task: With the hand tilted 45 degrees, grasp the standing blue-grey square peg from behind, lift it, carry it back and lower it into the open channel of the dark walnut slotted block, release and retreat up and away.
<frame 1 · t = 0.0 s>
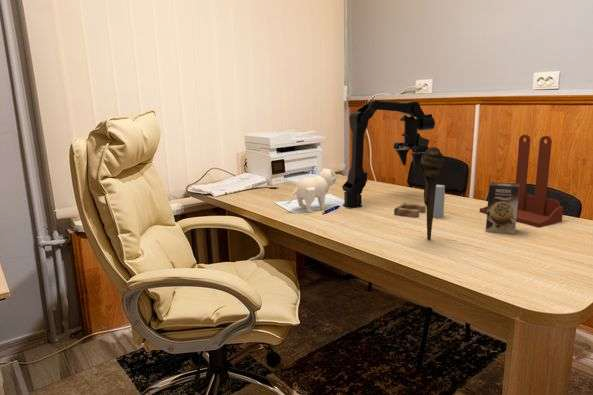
hand: (410, 166, 188), 15 cm above the table, tool pointing down, fingers open, 9 cm apart
slot block: (410, 213, 169), on the table
cat figurine: (313, 209, 180), on the table
hanging shelf: (518, 217, 159), on the table
coffee box: (500, 231, 144), on the table
peg: (436, 216, 163), on the table
decorative torch: (429, 240, 137), on the table
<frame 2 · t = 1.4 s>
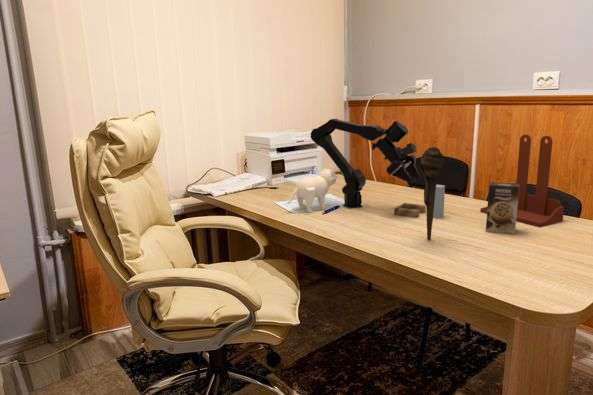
hand: (416, 180, 165), 13 cm above the table, tool tilted 45°, fingers open, 9 cm apart
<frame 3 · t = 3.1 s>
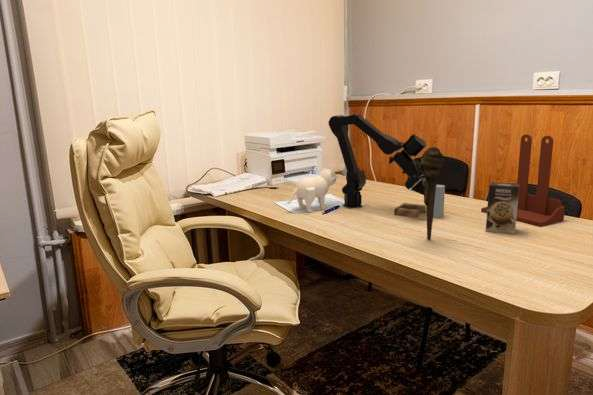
hand: (435, 194, 161), 9 cm above the table, tool tilted 45°, fingers open, 9 cm apart
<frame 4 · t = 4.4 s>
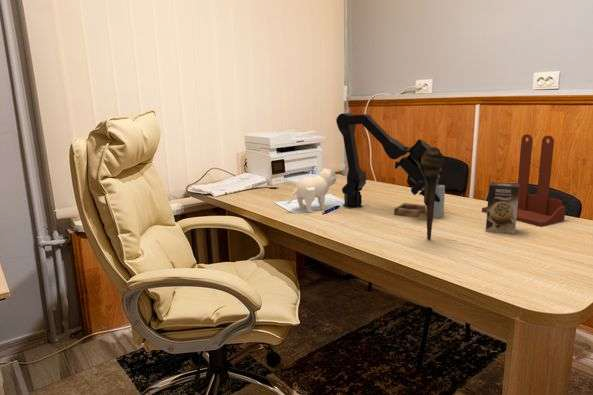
hand: (441, 200, 160), 7 cm above the table, tool tilted 45°, fingers closed on peg, 4 cm apart
peg: (436, 216, 163), on the table, touching gripper
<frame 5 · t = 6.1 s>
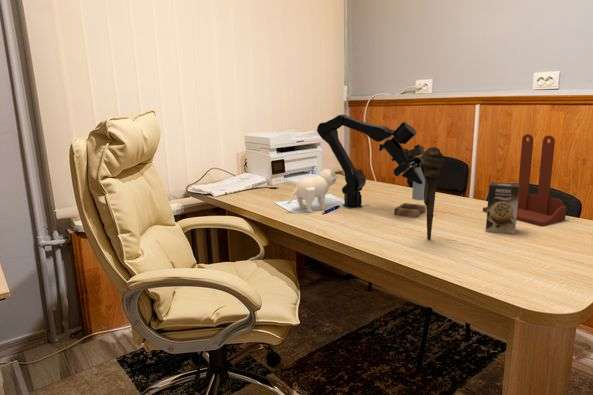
hand: (423, 182, 163), 13 cm above the table, tool tilted 45°, fingers closed on peg, 4 cm apart
peg: (419, 198, 165), point 6 cm above the table, touching gripper
when the fingers open (8 cm above the table, at t = 7.9 s): peg drops 2 cm, on the table.
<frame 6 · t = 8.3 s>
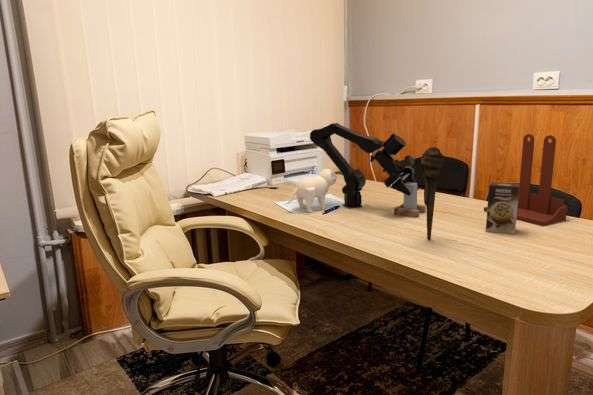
hand: (414, 192, 166), 9 cm above the table, tool tilted 45°, fingers open, 9 cm apart
peg: (410, 213, 169), on the table
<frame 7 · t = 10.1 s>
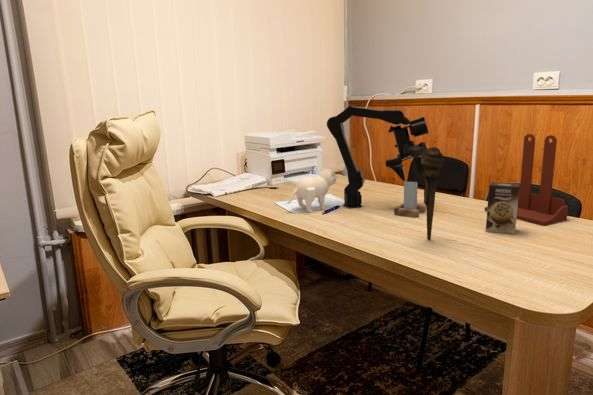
hand: (412, 177, 173), 13 cm above the table, tool pointing down, fingers open, 9 cm apart
peg: (410, 212, 168), on the table, tilted 8°
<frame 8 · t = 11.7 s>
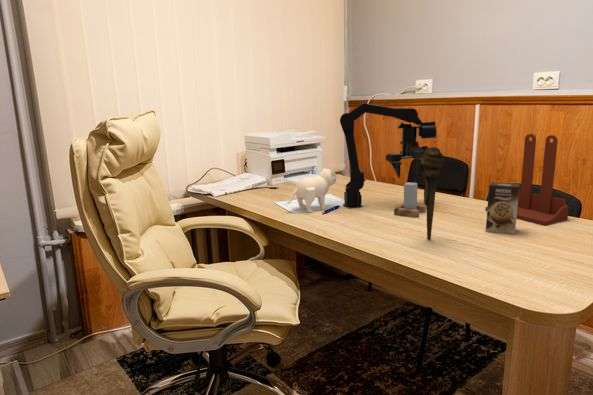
hand: (408, 176, 177), 13 cm above the table, tool pointing down, fingers open, 9 cm apart
peg: (410, 213, 169), on the table
at the end: peg 0.0 cm from the slot block (horizontally); peg tilted 0°; peg on the table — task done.
